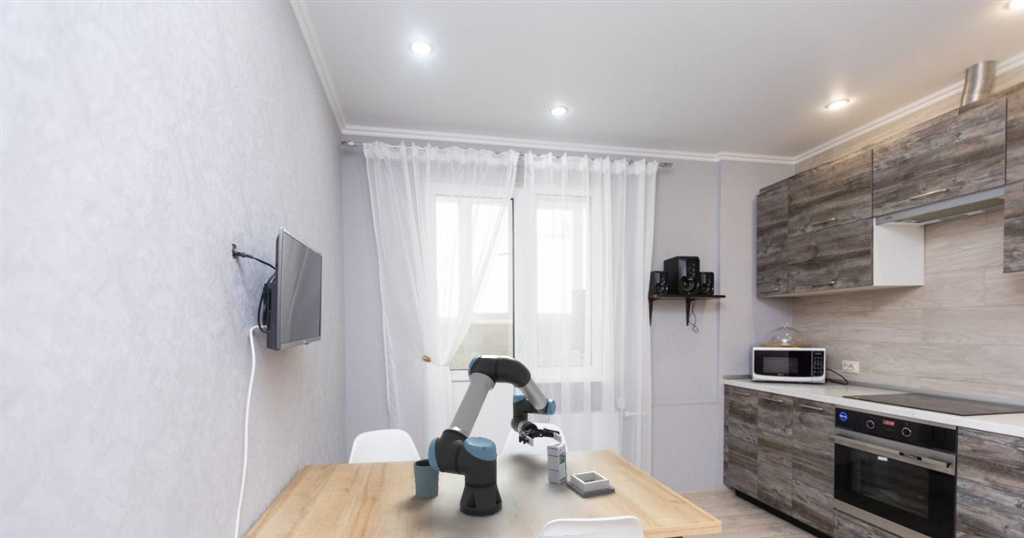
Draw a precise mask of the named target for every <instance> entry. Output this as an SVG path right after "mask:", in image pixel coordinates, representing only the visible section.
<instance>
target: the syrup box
mask: <svg viewBox="0 0 1024 538" xmlns="http://www.w3.org/2000/svg"><path fill="white" fill-rule="evenodd" d="M566 450H567V449H566V443H565V444H564V443H562V442H553V443H551V444H548V445H547V446H546V452H547V478H548V482H550V483H553V484H557V485H560V484H562V483H564V482H566V481H567V480H568V475H567V472H568V471H567V456H566V455H567V454H566V453H567V451H566Z"/></svg>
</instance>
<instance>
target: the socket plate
mask: <svg viewBox="0 0 1024 538" xmlns="http://www.w3.org/2000/svg"><path fill="white" fill-rule="evenodd" d="M565 486H566V487H568V488H569V489H571V490H572V491H573V492H575V493H576V494H578V495H579V496H580V497H581V498H588V497H595V496H600V495H604V494H611V493H615V492H616V490H615V489H616V488H614V487H612V486H611V485H610V479H609V478H607V477H605V476H603V475H601V474H600V473H598V472H597V471H595V470H593V471H585V472H579V473H573V474H570V480H568V481H565Z"/></svg>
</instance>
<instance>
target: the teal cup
mask: <svg viewBox="0 0 1024 538" xmlns="http://www.w3.org/2000/svg"><path fill="white" fill-rule="evenodd" d="M413 474H414V485H415V486H414V487H415V497H416V498H417V499H420V500H428V498H430V499H433V497H434V498H436V497H438V495H439V488H440V487H439V480H440V478H439V476H440V471H436V470H434V469H432V468H431V466H430V464H429V460H428V458H425V459H420V460H416V461H415V462H413ZM435 496H436V497H435Z"/></svg>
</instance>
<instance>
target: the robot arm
mask: <svg viewBox="0 0 1024 538" xmlns="http://www.w3.org/2000/svg"><path fill="white" fill-rule="evenodd" d="M467 375H468V378H469V379H468V380H469V384H468V387H467V390H466V391H465V394H464V396H463V399H462V400H461V402H460V405H459V407H458V408H457V411H456V413H455V414H454V417H453V419H452V421H451V424H450V425H449V428H445V429H444V430H443V431H442V433H441V435H440V437H439V436H438V437H437V436H436V437H434V438H433V439H431V441H430V443H429V446H428V450H427V459H428V460H429V464H430V466H431V468H432V469H434V470H436V471H439V473H442V474H443V473H444V474H445V473H446V474H453V475H459V476H463V477H464V487H463V490H462V494H461V497H460V500H459V510H460V512H461V513H462V514H465V515H467V516H471V517H487V516H492V515H494V514H497V513H499V512H500V511H501V510H502V508H503V500H502V497H501V493H500V489H499V487H498V476H497V475H498V473H497V472H498V468H497V467H498V466H497V465H498V464H497V463H498V453H497V445H496V444H495V441H493V440H491V439H490V438H486V437H482V436H477V437H476V436H471V433H472V431H473V429H474V426H475V423H476V421H477V419H478V417H479V415H480V412H481V410H482V407H483V405H484V403H485V400H486V398H487V395H488V394H489V392H490V391H493V390H494V389H495V386H496V384H497V383H499V384H503V383H504V384H510V385H512V386H513V387H514V388H517V389H518V390H519V391H520V392H516V393H513V395H512V418H511V420H510V426H511V429H512V430H513V431H514V432H515V433H517V434H518V443H523V445H526V444H527V445H529V446H531V447H534V439H536V438H541V439H542V438H551V439H554V440H555V441H557V443H562V440H563V439H562V435H560V431H559V430H554V429H549V428H546V427H543V429H542V428H539V427H538V426H537V425H536V424H535V423H533V422H532V421H530V420H529V414H532V415H541V416H542V415H543V416H553V415H555V413H556V411H557V403H556V401H555V400H554V399H551V398H547V397H546V395H545V393H543V392H542V389H540V387H539V385H538V384H537V383H536V382H535V381H534V379H533V378H532V373H531V371H530V370H529V369H528V368H527V367H526V365H525V364H524V363H522V362H521V361H519V360H518V359H516V358H514V357H512V356H509V355H489V354H482V355H475V356H474V357H473V358H472V359H471V360H470V363H469V364H468V370H467Z"/></svg>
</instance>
